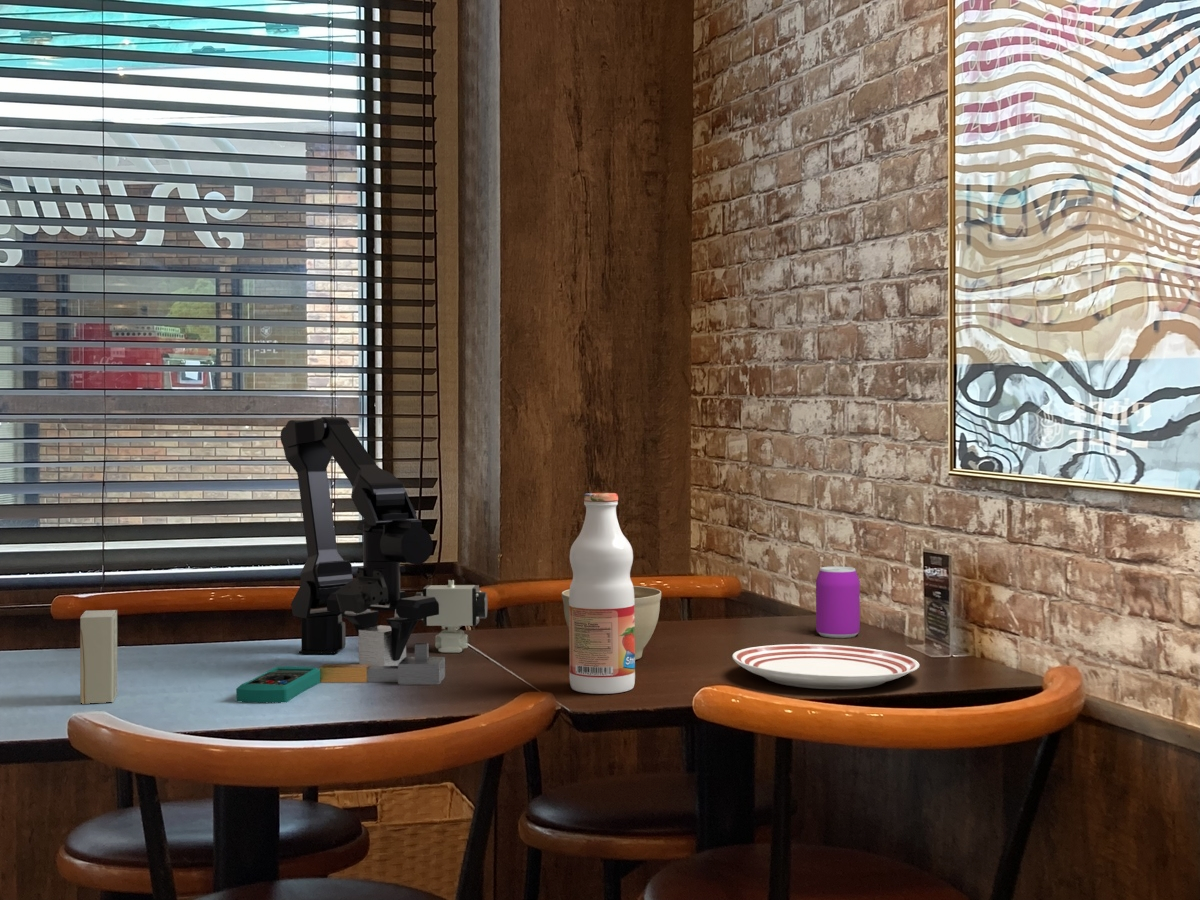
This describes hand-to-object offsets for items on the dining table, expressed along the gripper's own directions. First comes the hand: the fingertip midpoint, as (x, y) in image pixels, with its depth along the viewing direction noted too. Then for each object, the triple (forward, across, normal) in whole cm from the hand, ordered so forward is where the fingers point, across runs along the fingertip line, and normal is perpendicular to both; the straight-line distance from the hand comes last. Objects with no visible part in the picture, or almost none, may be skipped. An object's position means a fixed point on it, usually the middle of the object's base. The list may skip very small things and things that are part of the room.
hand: (382, 659), depth 203 cm
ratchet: (+1, +7, -8) cm, 11 cm away
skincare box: (+1, -18, -38) cm, 42 cm away
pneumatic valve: (+1, +1, +17) cm, 17 cm away
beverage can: (+1, +51, +63) cm, 81 cm away
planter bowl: (+2, +28, +24) cm, 37 cm away
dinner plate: (+2, +63, +26) cm, 69 cm away
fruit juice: (+1, +39, +3) cm, 39 cm away
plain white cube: (+1, 0, 0) cm, 1 cm away
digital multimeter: (+2, 0, -22) cm, 22 cm away
